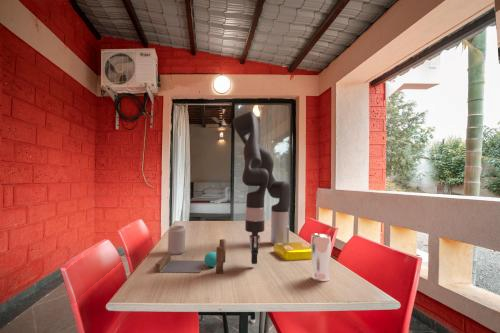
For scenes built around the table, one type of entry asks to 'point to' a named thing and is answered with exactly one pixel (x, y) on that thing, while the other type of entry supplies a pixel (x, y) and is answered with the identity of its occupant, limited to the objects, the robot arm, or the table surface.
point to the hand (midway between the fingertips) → (254, 263)
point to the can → (176, 240)
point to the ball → (210, 259)
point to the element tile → (292, 251)
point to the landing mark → (184, 266)
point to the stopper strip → (162, 262)
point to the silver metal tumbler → (320, 256)
